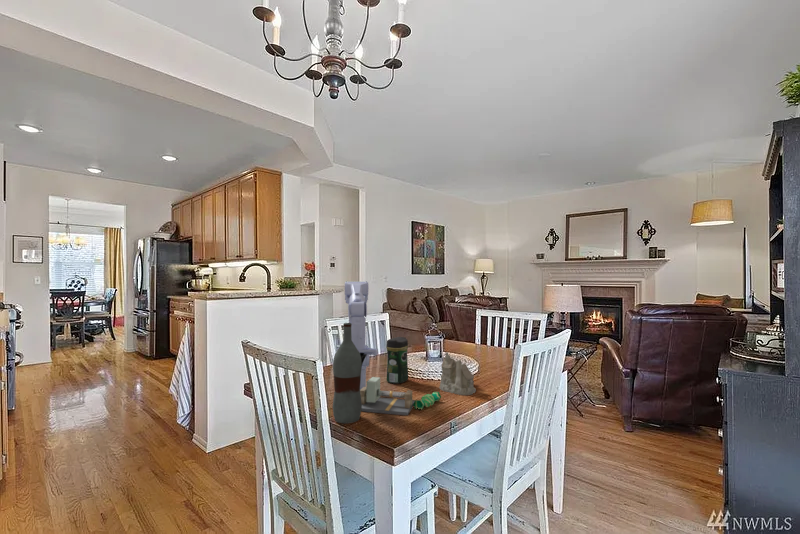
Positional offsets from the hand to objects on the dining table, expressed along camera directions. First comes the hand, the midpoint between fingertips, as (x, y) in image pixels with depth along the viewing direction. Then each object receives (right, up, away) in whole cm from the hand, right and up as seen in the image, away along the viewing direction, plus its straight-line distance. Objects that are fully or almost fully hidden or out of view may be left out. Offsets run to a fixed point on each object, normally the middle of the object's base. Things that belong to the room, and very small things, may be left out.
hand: (357, 374), depth 133 cm
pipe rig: (+10, -10, -3) cm, 15 cm away
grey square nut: (+6, -8, -1) cm, 10 cm away
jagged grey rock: (+39, -11, +19) cm, 45 cm away
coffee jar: (+14, -11, +28) cm, 34 cm away
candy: (+25, -11, 0) cm, 27 cm away
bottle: (-2, -10, -13) cm, 17 cm away
